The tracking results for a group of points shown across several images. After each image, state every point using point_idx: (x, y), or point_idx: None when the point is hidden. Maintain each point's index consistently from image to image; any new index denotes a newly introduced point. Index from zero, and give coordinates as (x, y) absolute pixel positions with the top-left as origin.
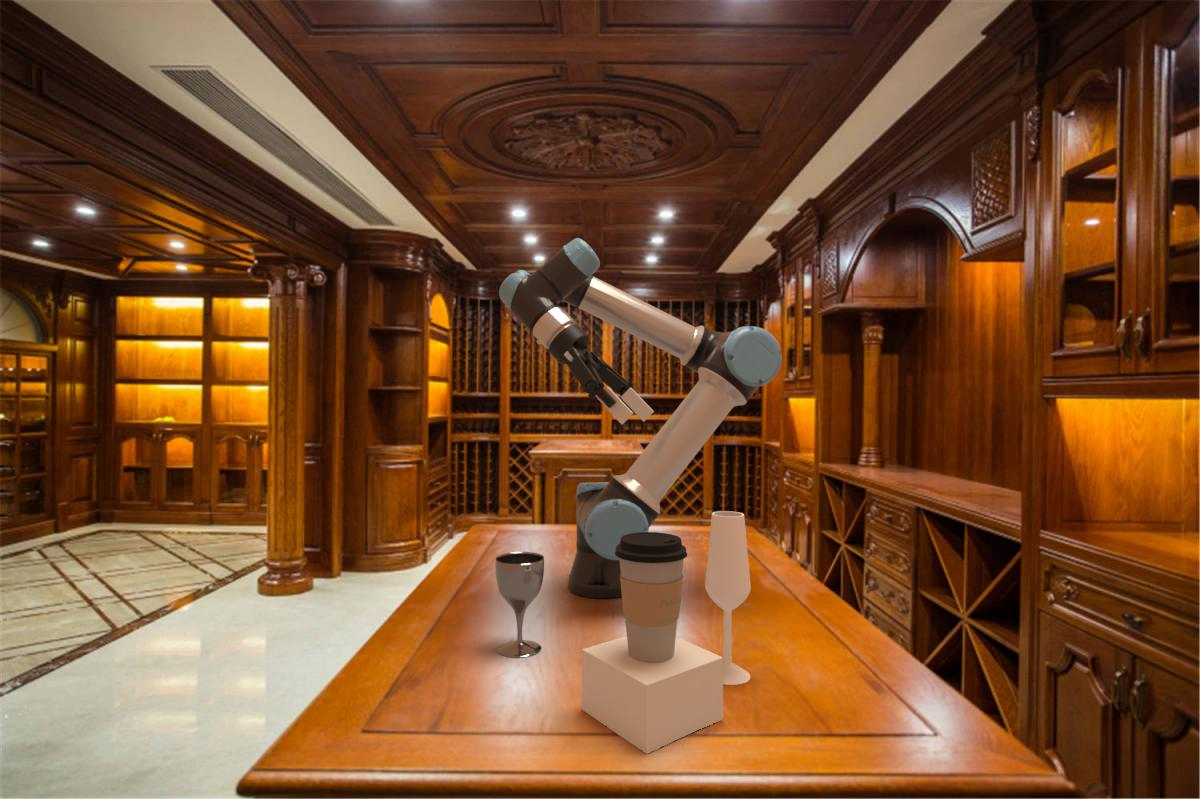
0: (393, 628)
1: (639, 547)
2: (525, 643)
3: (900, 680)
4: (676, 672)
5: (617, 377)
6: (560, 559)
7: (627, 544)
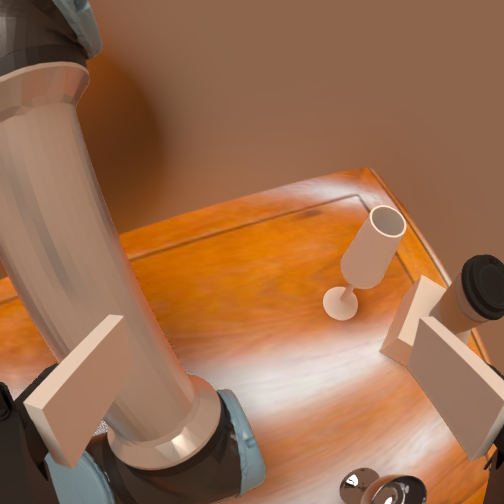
0: None
1: None
2: (361, 483)
3: (296, 200)
4: None
5: (28, 502)
6: None
7: None
